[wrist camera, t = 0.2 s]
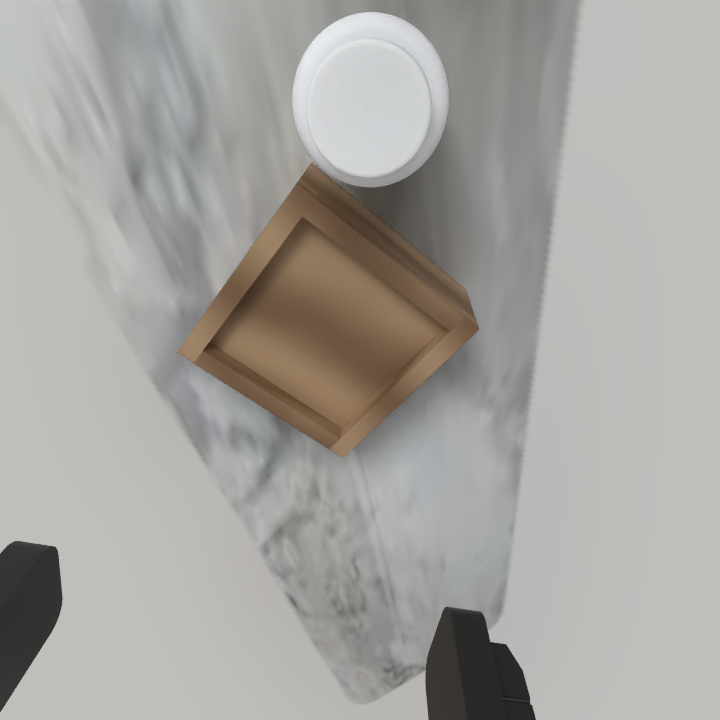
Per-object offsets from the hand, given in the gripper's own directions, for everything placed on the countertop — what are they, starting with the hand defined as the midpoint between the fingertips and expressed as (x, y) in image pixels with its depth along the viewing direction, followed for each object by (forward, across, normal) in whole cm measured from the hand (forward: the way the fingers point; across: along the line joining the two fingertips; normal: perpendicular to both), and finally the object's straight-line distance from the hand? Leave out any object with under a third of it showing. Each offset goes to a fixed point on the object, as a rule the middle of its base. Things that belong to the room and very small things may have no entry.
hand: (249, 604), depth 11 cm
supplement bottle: (+20, -1, -11) cm, 23 cm away
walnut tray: (+22, 0, 0) cm, 22 cm away
